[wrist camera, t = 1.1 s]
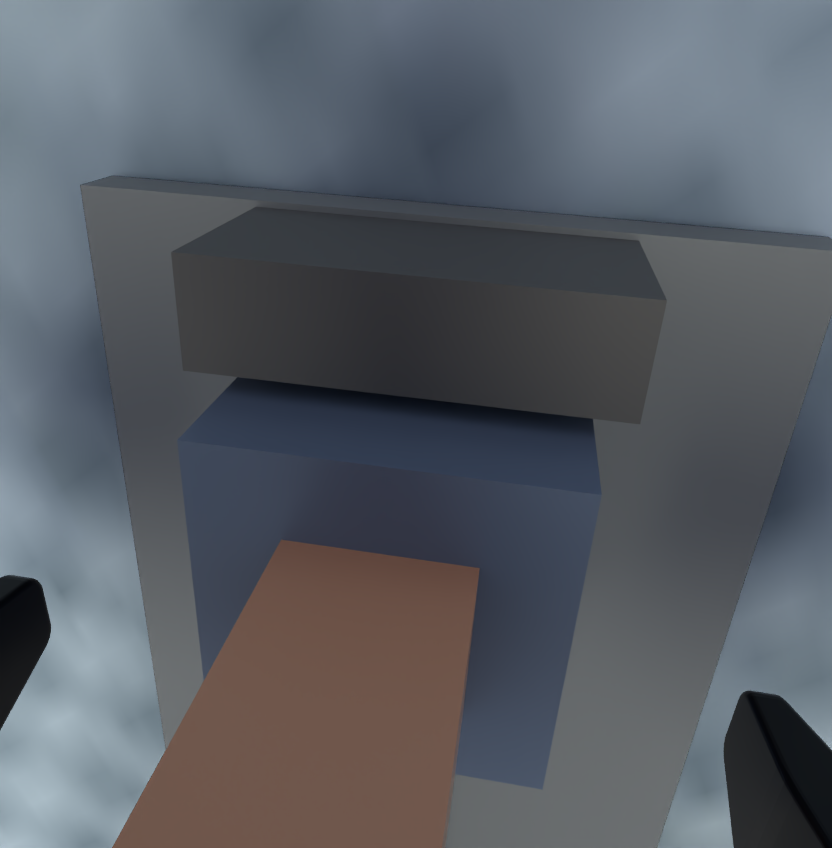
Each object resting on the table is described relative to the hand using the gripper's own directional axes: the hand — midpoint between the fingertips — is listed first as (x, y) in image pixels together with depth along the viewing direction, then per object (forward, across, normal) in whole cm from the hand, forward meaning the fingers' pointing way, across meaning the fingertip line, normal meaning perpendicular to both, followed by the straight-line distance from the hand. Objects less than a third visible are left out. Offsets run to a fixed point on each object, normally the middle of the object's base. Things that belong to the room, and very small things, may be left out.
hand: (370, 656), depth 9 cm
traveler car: (+3, 0, 0) cm, 3 cm away
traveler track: (+6, 0, +7) cm, 9 cm away
